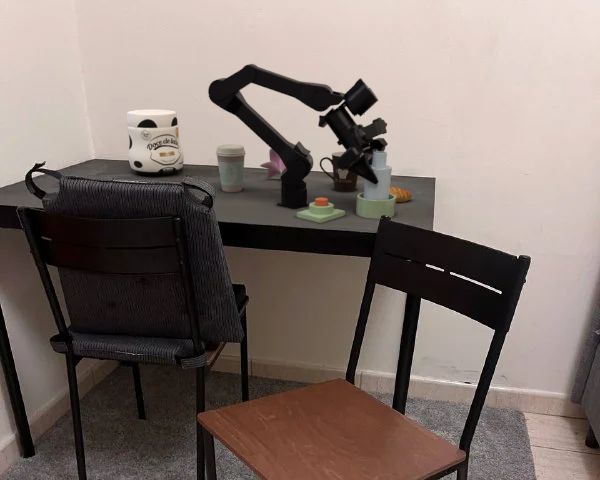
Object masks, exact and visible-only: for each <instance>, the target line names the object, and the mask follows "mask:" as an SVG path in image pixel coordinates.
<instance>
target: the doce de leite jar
mask: <svg viewBox="0 0 600 480" xmlns="http://www.w3.org/2000/svg"><path fill="white" fill-rule="evenodd" d="M126 122H127V132H128V139H129V145H128V153H127V154H128V157H127V158H128V161H129V165H130V168H131V170H132V171H134V172H136V173H137V174H142V175H148V176H162V175H163V176H164V175H169V174H176V173H177V172H179V171H181V170H183V168H184V161H185V160H184V159H185V158H184V152H183V149H182V145H181V143H180V133H179V124H178V122H179V121H178V115H177V112H176V111H175V110H169V109H135V110H129V111H127V112H126Z"/></svg>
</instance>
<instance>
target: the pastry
mask: <svg viewBox="0 0 600 480" xmlns="http://www.w3.org/2000/svg"><path fill="white" fill-rule="evenodd" d="M389 193H390V194H393V195H395V196H396V203H404V202H405V203H406V202H408V201H411V200H412V193H411V191H409V190H408V189H403V188H402V187H396V186H394V185H392V186H390V192H389Z"/></svg>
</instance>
